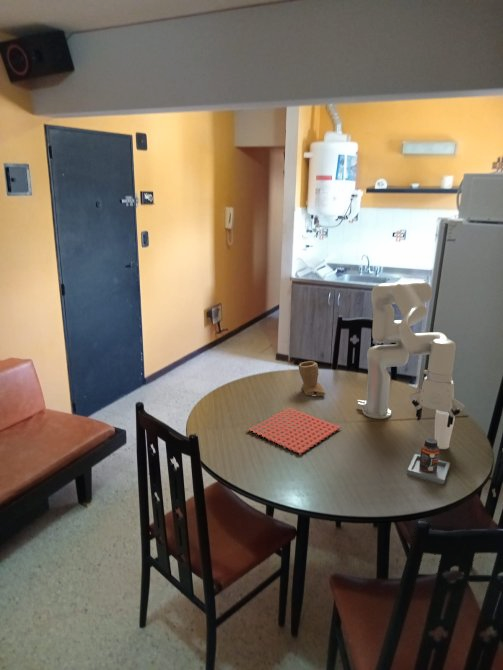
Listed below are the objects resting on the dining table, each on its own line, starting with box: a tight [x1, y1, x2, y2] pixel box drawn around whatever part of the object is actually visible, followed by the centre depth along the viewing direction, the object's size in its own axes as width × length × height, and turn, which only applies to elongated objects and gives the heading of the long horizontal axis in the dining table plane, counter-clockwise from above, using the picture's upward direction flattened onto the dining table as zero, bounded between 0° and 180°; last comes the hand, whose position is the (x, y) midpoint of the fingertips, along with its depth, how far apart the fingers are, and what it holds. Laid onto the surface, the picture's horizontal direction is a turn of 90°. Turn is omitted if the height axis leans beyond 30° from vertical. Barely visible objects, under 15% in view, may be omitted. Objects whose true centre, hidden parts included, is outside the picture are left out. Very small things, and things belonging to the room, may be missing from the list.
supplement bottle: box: [419, 437, 440, 473], centre depth 162 cm, size 6×6×11 cm
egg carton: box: [247, 407, 341, 456], centre depth 192 cm, size 28×28×2 cm
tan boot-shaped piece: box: [298, 360, 326, 397], centre depth 228 cm, size 15×12×15 cm
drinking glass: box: [434, 410, 456, 450], centre depth 177 cm, size 7×7×15 cm
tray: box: [406, 453, 451, 486], centre depth 163 cm, size 12×12×2 cm
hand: (433, 422), depth 158 cm, fingers open, 9 cm apart
